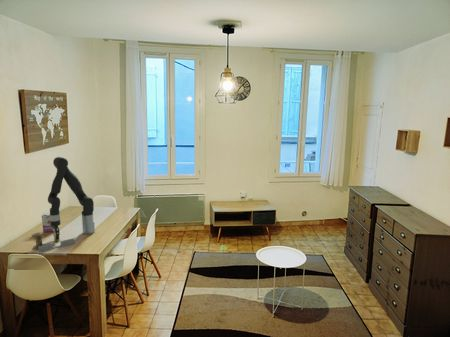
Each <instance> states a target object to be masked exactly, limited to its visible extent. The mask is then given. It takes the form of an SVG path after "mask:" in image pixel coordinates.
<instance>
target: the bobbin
mask: <svg viewBox="0 0 450 337" xmlns="http://www.w3.org/2000/svg"><path fill="white" fill-rule="evenodd" d="M44 236H46V232H43V231H42V232H41V231H40V232H35V233H32V234H31V238H33V239H35V245H34V246H33V247H32V249H33V250H35V251H36V250H37V251H39V250H38V246H42V245H46V243H43V238H44Z"/></svg>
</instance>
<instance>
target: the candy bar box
mask: <svg viewBox="0 0 450 337" xmlns="http://www.w3.org/2000/svg"><path fill="white" fill-rule="evenodd" d="M41 221H42V232H43V233H53V231H52V226H51V225H50V213H43V214H42V215H41Z"/></svg>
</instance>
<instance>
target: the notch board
mask: <svg viewBox="0 0 450 337" xmlns="http://www.w3.org/2000/svg"><path fill="white" fill-rule="evenodd" d="M59 243H60V245H56V246H54V244H53V242H51V243H47V244H46V243H45V245H42V246H38V250H37V251H38V253H40V252H45V251H49V250H53V249H58V248H61V247H66V246H70V245H74V244H75V238H74V237H73V238H69V239H65V240H60V241H59Z"/></svg>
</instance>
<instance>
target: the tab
mask: <svg viewBox="0 0 450 337" xmlns="http://www.w3.org/2000/svg"><path fill="white" fill-rule="evenodd" d="M57 234H58V233H57ZM53 241H54V243H58V242H59V243H60V241H61V240H60V237H59V239H58V240H56V234H55V233H54V236H53Z"/></svg>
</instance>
